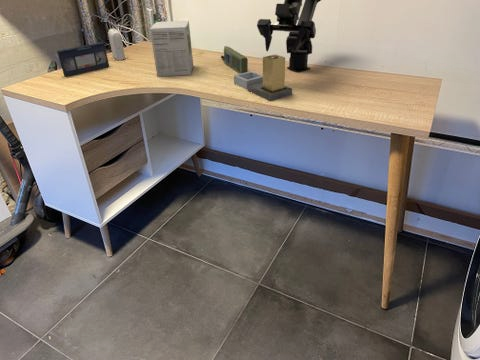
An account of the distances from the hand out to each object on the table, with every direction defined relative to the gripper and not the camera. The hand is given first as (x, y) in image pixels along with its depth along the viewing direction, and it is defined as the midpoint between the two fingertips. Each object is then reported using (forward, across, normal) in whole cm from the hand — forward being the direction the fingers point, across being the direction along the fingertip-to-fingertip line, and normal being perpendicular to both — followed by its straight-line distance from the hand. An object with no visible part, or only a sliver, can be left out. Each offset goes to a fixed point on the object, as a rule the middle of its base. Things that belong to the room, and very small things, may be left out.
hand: (280, 51), depth 121 cm
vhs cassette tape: (+11, -81, +7) cm, 82 cm away
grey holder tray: (+12, -2, +5) cm, 13 cm away
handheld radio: (-5, -26, +23) cm, 35 cm away
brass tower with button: (+13, 0, +4) cm, 14 cm away
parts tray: (+8, -11, +10) cm, 17 cm away
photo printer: (-4, -82, +22) cm, 85 cm away
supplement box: (+3, -46, +14) cm, 48 cm away
